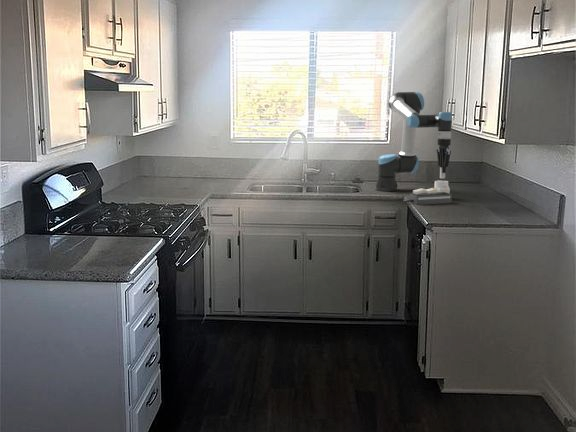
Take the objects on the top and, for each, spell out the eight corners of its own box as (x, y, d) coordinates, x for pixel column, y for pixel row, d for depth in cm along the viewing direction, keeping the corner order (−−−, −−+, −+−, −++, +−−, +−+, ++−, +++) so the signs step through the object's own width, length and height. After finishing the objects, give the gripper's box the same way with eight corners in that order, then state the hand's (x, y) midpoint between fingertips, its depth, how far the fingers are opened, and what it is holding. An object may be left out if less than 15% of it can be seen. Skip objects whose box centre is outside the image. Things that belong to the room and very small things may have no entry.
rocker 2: (424, 192, 385) (423, 189, 385) (433, 190, 387) (432, 187, 386) (428, 193, 381) (428, 190, 380) (437, 191, 382) (437, 188, 382)
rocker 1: (413, 193, 383) (412, 190, 383) (422, 190, 385) (421, 187, 384) (416, 194, 379) (416, 191, 378) (426, 191, 380) (425, 189, 379)
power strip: (400, 202, 384) (400, 193, 383) (443, 200, 392) (444, 191, 391) (407, 205, 376) (407, 196, 375) (451, 202, 384) (452, 193, 383)
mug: (454, 199, 397) (455, 182, 395) (443, 200, 393) (444, 183, 391) (441, 196, 407) (442, 180, 405) (431, 197, 404) (431, 180, 402)
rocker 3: (435, 190, 387) (436, 187, 387) (444, 191, 389) (444, 188, 389) (439, 191, 382) (440, 188, 382) (448, 192, 384) (449, 190, 384)
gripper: (433, 137, 385) (431, 177, 389) (444, 139, 372) (442, 179, 377) (444, 137, 387) (442, 176, 391) (455, 139, 374) (453, 179, 379)
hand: (442, 178), depth 384 cm, fingers closed
